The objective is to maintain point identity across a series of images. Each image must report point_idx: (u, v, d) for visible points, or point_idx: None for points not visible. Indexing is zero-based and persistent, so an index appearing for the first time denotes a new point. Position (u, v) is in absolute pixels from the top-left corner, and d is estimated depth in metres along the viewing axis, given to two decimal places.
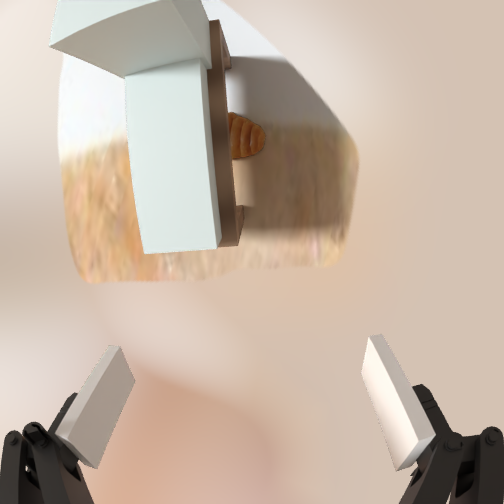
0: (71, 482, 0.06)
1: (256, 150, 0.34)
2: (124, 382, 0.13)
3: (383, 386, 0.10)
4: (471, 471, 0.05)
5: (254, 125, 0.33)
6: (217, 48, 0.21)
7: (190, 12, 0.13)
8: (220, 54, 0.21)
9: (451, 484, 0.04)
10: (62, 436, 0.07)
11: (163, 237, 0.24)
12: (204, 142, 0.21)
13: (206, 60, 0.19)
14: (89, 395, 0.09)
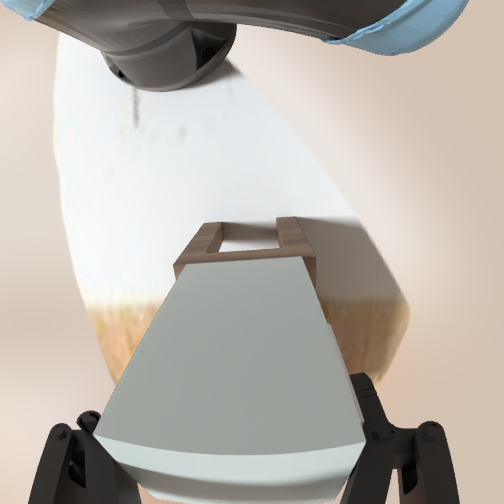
0: (122, 477, 0.06)
1: None
2: None
3: None
4: None
5: None
6: None
7: None
8: None
9: (389, 473, 0.06)
10: None
11: None
12: None
13: None
14: None
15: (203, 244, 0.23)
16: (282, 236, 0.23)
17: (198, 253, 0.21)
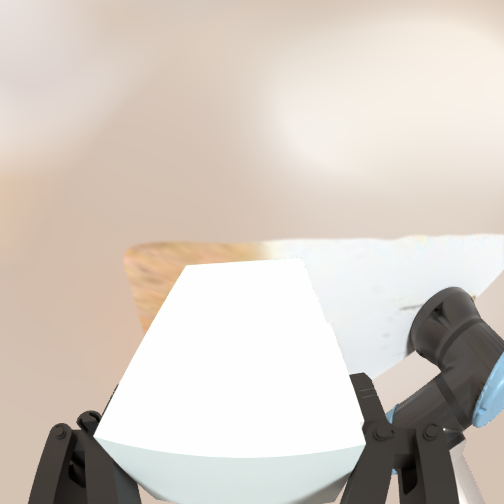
0: (122, 477, 0.06)
1: None
2: None
3: None
4: None
5: None
6: None
7: None
8: None
9: (389, 473, 0.06)
10: None
11: None
12: None
13: None
14: None
15: None
16: None
17: None
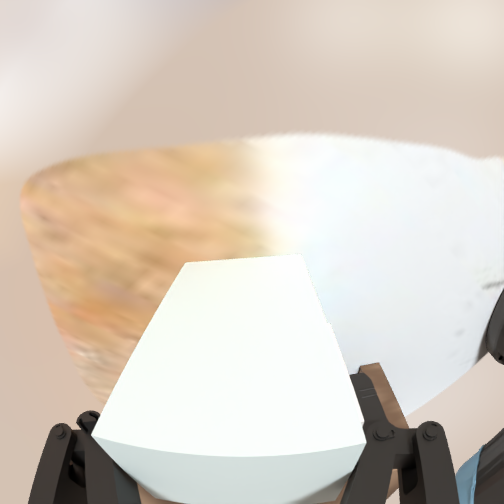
0: (122, 477, 0.06)
1: None
2: None
3: None
4: None
5: None
6: None
7: None
8: None
9: (389, 473, 0.06)
10: None
11: None
12: None
13: None
14: None
15: None
16: None
17: None
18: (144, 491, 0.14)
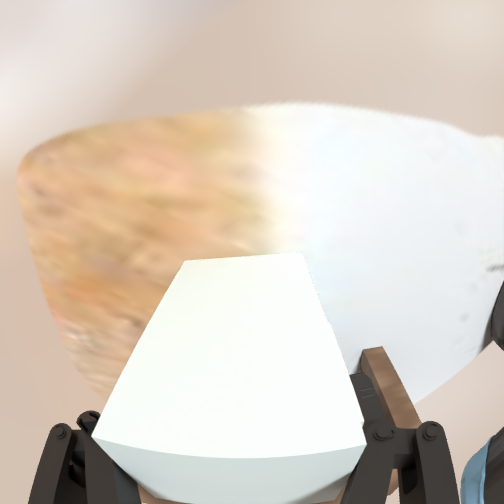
0: (122, 477, 0.06)
1: None
2: None
3: None
4: None
5: None
6: None
7: None
8: None
9: (389, 473, 0.06)
10: None
11: None
12: None
13: None
14: None
15: None
16: None
17: None
18: None
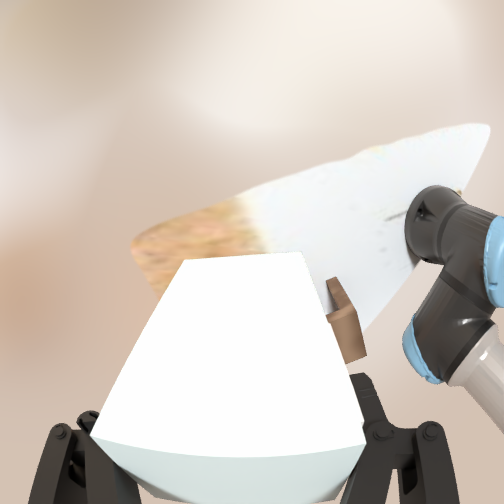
0: (122, 477, 0.06)
1: None
2: None
3: None
4: None
5: None
6: (346, 362, 0.41)
7: None
8: None
9: (389, 473, 0.06)
10: None
11: None
12: None
13: None
14: None
15: None
16: None
17: None
18: None
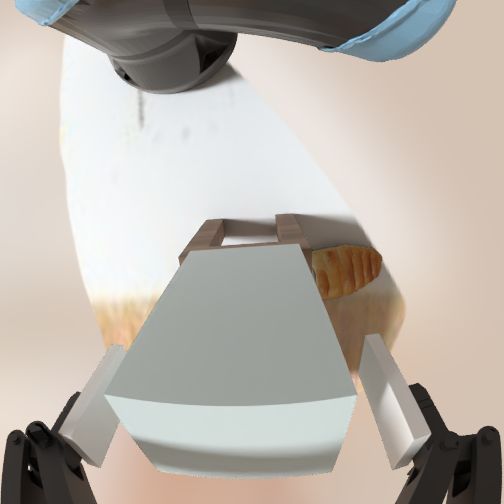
0: (74, 481, 0.06)
1: (377, 275, 0.32)
2: None
3: (380, 384, 0.10)
4: (468, 470, 0.05)
5: (370, 252, 0.31)
6: None
7: None
8: None
9: (447, 483, 0.04)
10: (66, 435, 0.07)
11: None
12: None
13: None
14: (92, 394, 0.10)
15: (206, 239, 0.25)
16: (281, 231, 0.25)
17: (202, 246, 0.22)
18: None
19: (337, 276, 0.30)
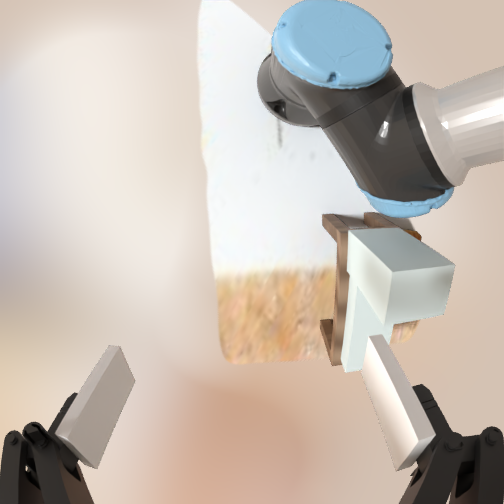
0: (71, 482, 0.06)
1: None
2: (124, 382, 0.13)
3: (383, 386, 0.10)
4: (471, 471, 0.05)
5: (415, 233, 0.46)
6: None
7: None
8: None
9: (451, 484, 0.04)
10: (62, 436, 0.07)
11: (359, 364, 0.40)
12: None
13: None
14: (89, 395, 0.09)
15: (342, 225, 0.40)
16: (379, 222, 0.40)
17: (346, 228, 0.38)
18: None
19: None
